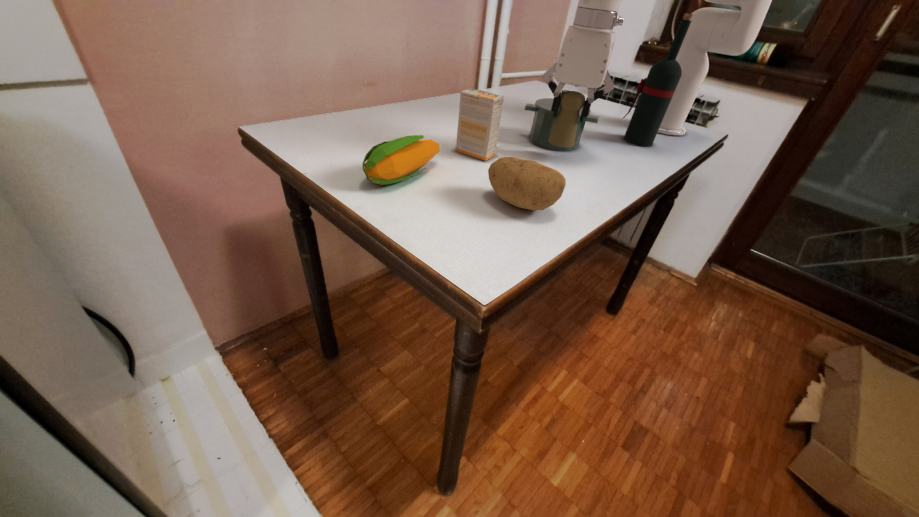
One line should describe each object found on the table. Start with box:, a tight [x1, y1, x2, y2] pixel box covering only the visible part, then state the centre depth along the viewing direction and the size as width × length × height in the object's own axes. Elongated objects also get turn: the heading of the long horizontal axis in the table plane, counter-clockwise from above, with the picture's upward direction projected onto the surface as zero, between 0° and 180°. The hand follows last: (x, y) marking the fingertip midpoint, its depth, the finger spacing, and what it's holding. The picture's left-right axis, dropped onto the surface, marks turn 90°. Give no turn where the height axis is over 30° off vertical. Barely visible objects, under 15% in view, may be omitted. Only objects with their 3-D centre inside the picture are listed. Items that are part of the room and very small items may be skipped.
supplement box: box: [455, 87, 505, 162], centre depth 80 cm, size 8×5×13 cm, turn 57°
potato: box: [487, 156, 567, 211], centre depth 64 cm, size 10×14×8 cm
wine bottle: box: [620, 12, 694, 148], centre depth 93 cm, size 8×10×30 cm
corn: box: [361, 134, 441, 186], centre depth 69 cm, size 7×8×20 cm
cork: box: [548, 90, 586, 148], centre depth 81 cm, size 6×6×11 cm
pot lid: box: [534, 89, 592, 117], centre depth 89 cm, size 14×14×5 cm
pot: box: [524, 103, 599, 152], centre depth 93 cm, size 13×18×8 cm
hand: (568, 116), depth 81 cm, fingers closed on cork, 5 cm apart
